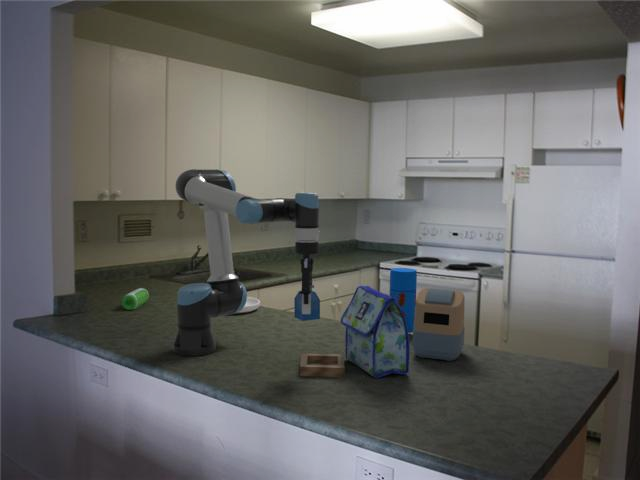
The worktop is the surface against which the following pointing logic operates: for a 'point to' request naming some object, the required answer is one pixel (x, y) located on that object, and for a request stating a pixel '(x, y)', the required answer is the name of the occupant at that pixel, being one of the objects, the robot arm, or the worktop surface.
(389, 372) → the lunch bag
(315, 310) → the perfume bottle
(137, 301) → the speaker
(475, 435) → the worktop surface
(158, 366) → the worktop surface
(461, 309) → the alarm clock
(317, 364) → the wooden picture frame
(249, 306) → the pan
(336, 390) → the worktop surface
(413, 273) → the thermos
